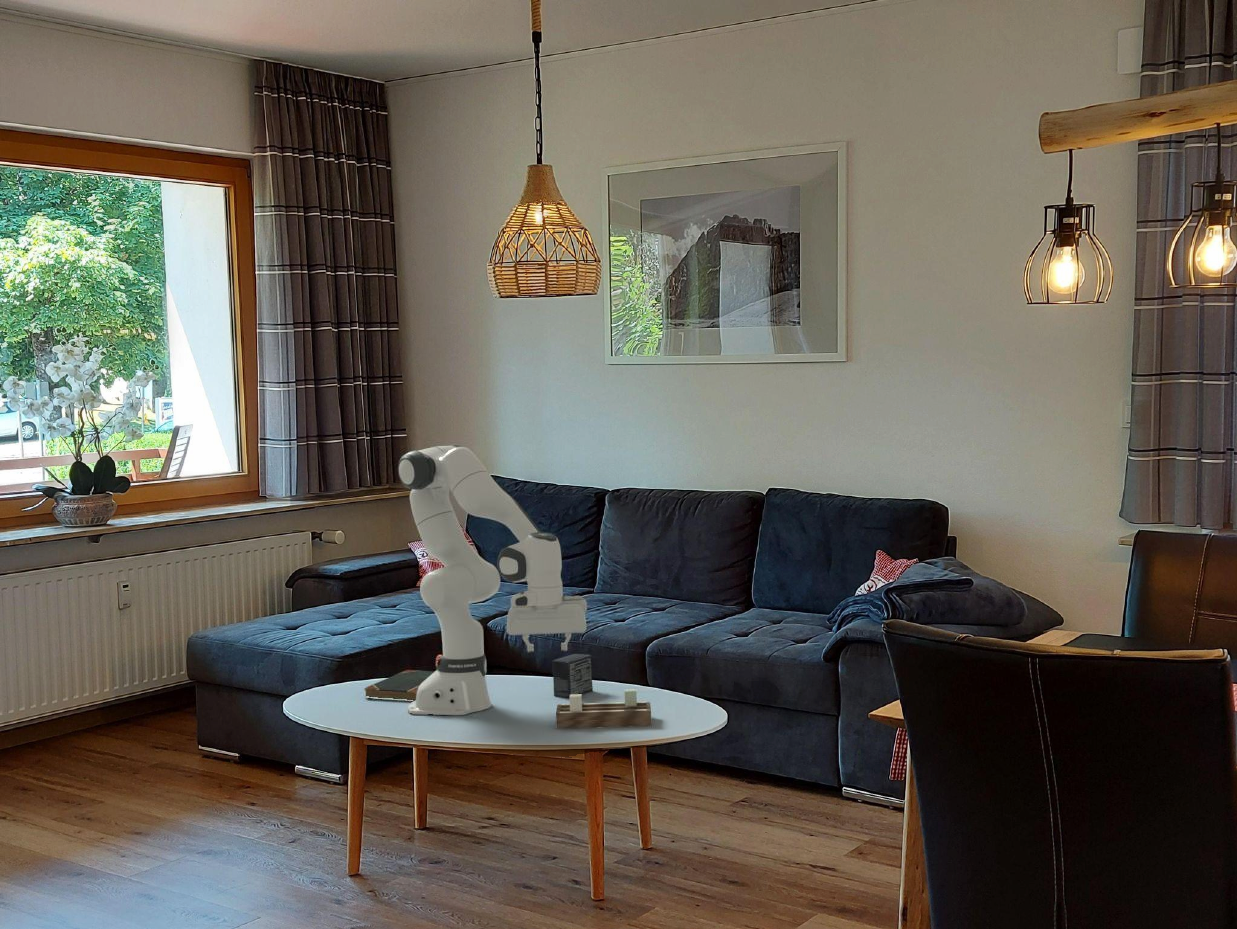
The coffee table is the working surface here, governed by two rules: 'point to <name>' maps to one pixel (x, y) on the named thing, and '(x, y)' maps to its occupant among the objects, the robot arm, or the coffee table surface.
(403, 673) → the book
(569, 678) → the small box
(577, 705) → the offwhite block
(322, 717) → the coffee table surface
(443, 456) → the robot arm
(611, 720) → the wooden shelf rack
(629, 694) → the sage tab
